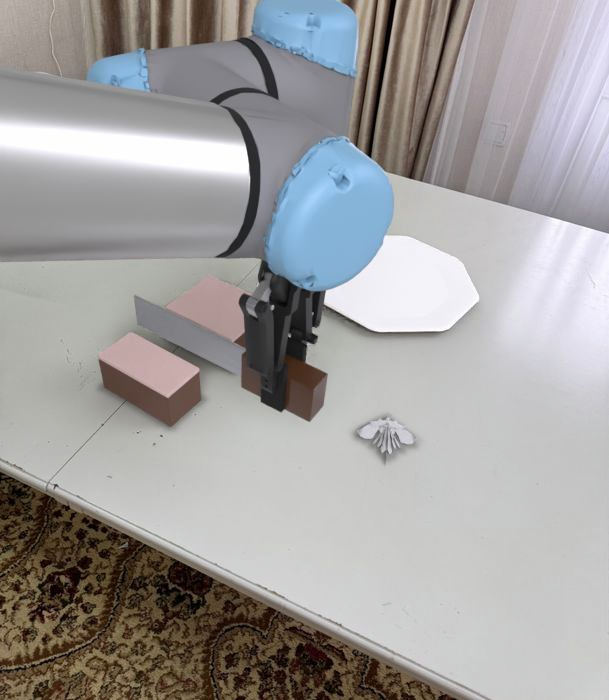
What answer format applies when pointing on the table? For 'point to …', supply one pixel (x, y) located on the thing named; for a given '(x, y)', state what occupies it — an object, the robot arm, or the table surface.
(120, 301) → the table surface
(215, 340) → the cake knife
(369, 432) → the flower
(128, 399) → the cake slice
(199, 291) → the cake
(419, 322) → the plate
